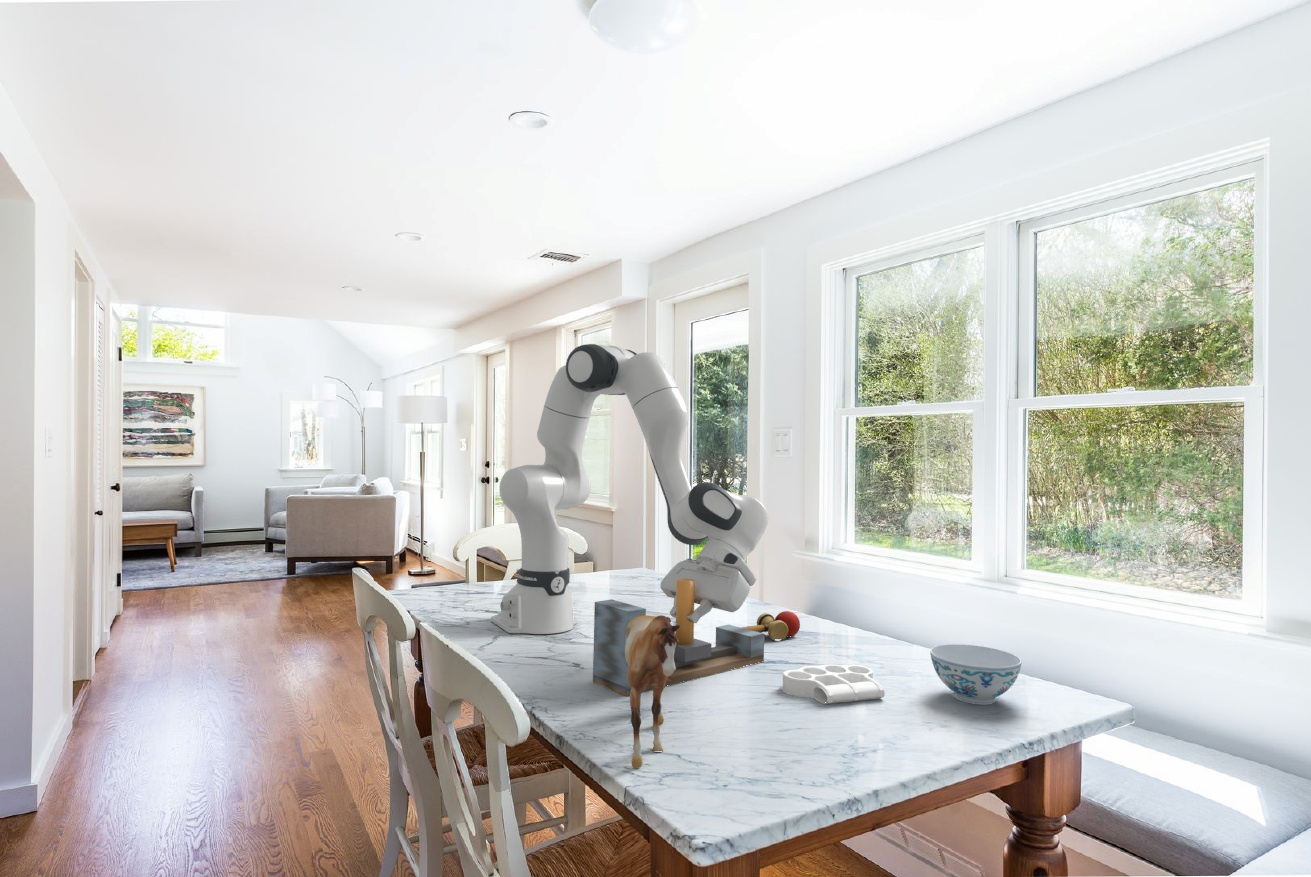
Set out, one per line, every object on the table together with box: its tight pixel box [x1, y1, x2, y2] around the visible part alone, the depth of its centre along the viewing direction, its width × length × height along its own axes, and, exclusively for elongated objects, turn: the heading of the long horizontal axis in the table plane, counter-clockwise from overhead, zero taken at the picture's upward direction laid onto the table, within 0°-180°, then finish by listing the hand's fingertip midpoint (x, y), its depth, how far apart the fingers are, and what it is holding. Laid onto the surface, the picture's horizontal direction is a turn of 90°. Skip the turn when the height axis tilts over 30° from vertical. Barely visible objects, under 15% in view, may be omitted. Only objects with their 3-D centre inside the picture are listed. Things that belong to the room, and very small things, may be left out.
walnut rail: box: [592, 599, 765, 697], centre depth 145 cm, size 11×36×15 cm, turn 131°
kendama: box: [740, 610, 801, 641], centre depth 173 cm, size 8×6×18 cm
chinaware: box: [929, 643, 1022, 706], centre depth 133 cm, size 15×15×8 cm
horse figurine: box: [625, 614, 680, 769], centre depth 112 cm, size 31×8×21 cm, turn 0°
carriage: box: [674, 579, 712, 662], centre depth 146 cm, size 8×7×14 cm
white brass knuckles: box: [782, 664, 886, 706], centre depth 136 cm, size 3×18×15 cm
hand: (682, 618), depth 145 cm, fingers closed on carriage, 4 cm apart
